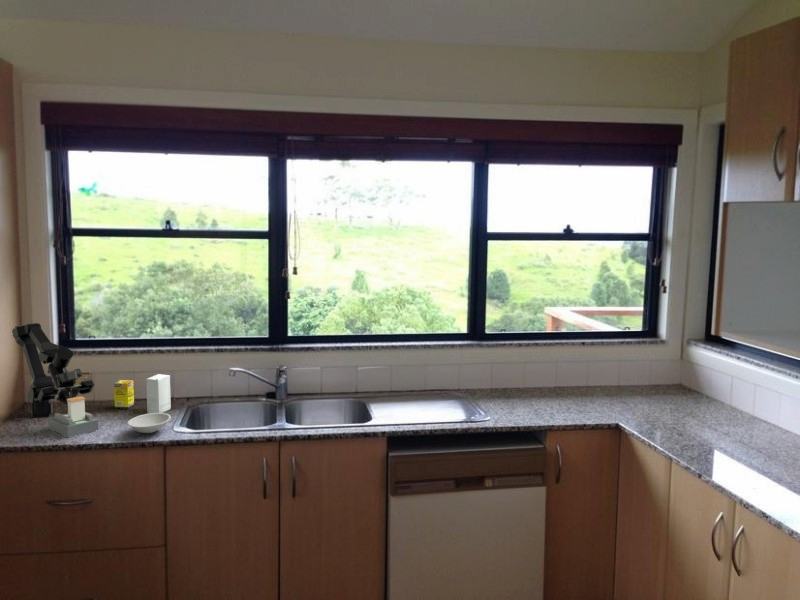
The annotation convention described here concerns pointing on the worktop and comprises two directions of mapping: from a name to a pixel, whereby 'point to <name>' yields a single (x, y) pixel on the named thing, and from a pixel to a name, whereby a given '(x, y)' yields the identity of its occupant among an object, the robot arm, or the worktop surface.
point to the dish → (149, 422)
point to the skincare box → (158, 393)
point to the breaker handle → (76, 408)
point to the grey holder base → (72, 424)
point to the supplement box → (124, 394)
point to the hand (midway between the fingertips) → (74, 408)
